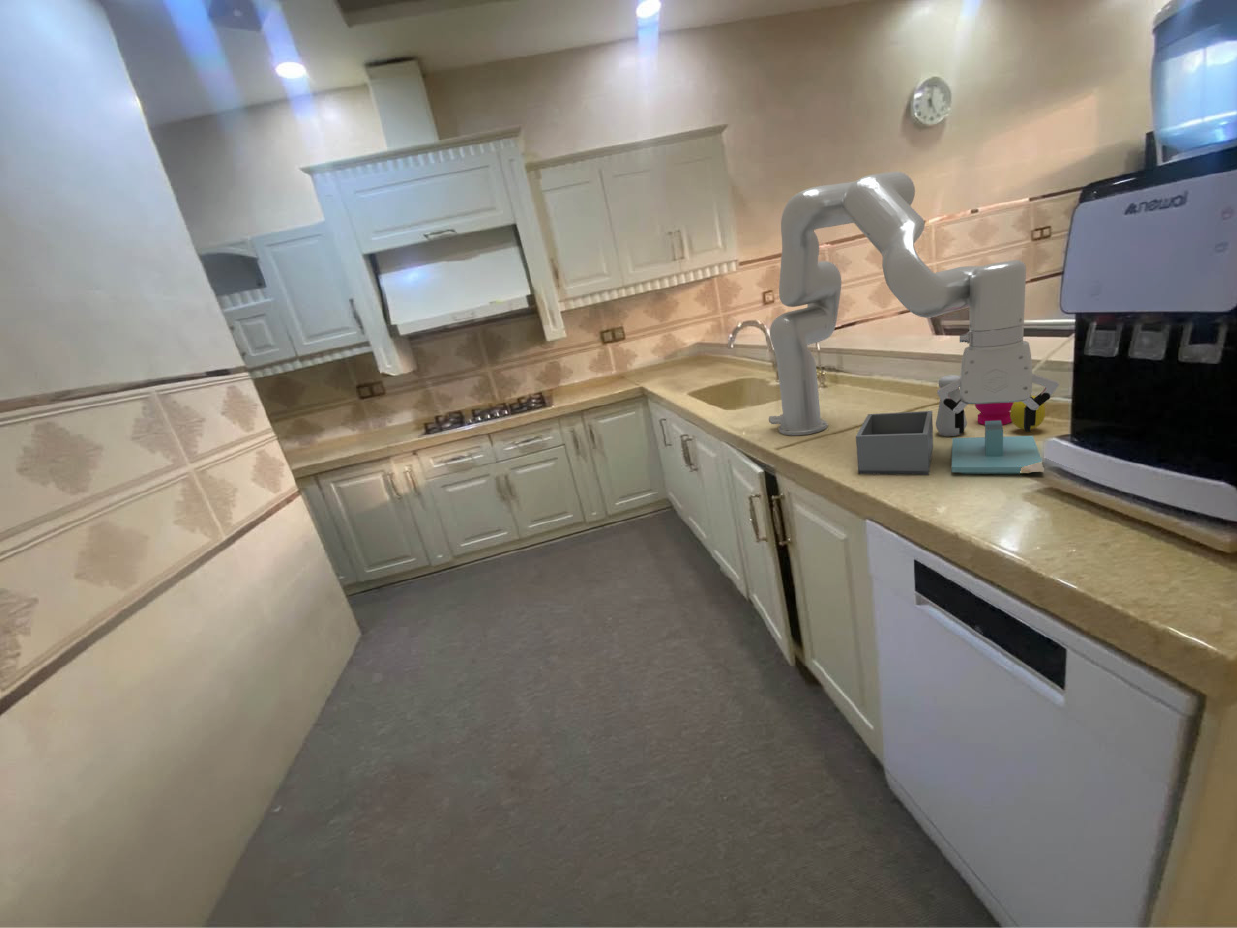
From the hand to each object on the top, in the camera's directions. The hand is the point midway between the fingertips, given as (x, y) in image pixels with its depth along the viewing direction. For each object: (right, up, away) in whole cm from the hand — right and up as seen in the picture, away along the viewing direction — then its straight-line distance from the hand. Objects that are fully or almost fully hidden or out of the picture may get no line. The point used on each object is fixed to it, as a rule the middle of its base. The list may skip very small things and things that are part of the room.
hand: (993, 430), depth 91 cm
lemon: (+15, 0, +11) cm, 19 cm away
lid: (+1, -6, +2) cm, 6 cm away
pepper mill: (+16, +3, +20) cm, 26 cm away
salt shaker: (+5, 0, +19) cm, 19 cm away
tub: (-12, -5, +11) cm, 17 cm away
